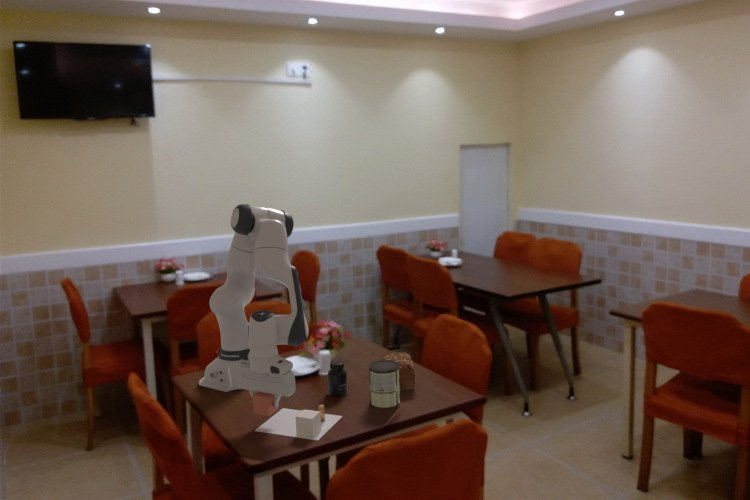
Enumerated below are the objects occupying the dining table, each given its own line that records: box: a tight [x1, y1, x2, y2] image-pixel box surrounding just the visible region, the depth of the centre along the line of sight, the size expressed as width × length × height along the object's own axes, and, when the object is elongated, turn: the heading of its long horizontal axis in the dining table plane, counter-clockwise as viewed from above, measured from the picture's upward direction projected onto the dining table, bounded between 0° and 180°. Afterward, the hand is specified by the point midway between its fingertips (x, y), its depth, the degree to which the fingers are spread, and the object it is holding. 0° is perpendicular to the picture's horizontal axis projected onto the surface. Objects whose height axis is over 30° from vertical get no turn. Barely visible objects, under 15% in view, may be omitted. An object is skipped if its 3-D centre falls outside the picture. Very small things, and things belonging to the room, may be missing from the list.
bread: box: [382, 352, 416, 392], centre depth 241 cm, size 19×11×10 cm, turn 3°
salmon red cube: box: [252, 391, 279, 417], centre depth 205 cm, size 6×6×6 cm
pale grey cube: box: [296, 408, 321, 438], centre depth 200 cm, size 6×6×6 cm
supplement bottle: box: [327, 360, 348, 398], centre depth 230 cm, size 7×7×12 cm
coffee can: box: [368, 359, 401, 409], centre depth 220 cm, size 10×10×14 cm
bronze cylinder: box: [317, 403, 326, 422], centre depth 208 cm, size 2×2×5 cm
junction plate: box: [254, 407, 343, 441], centre depth 207 cm, size 22×18×1 cm
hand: (266, 404), depth 206 cm, fingers closed on salmon red cube, 6 cm apart
